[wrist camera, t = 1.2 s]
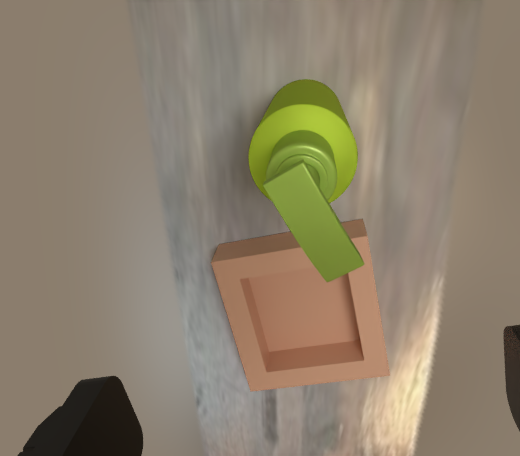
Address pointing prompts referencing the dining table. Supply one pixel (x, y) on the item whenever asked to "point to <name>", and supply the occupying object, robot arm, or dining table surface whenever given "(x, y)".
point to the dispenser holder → (300, 313)
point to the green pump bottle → (308, 171)
